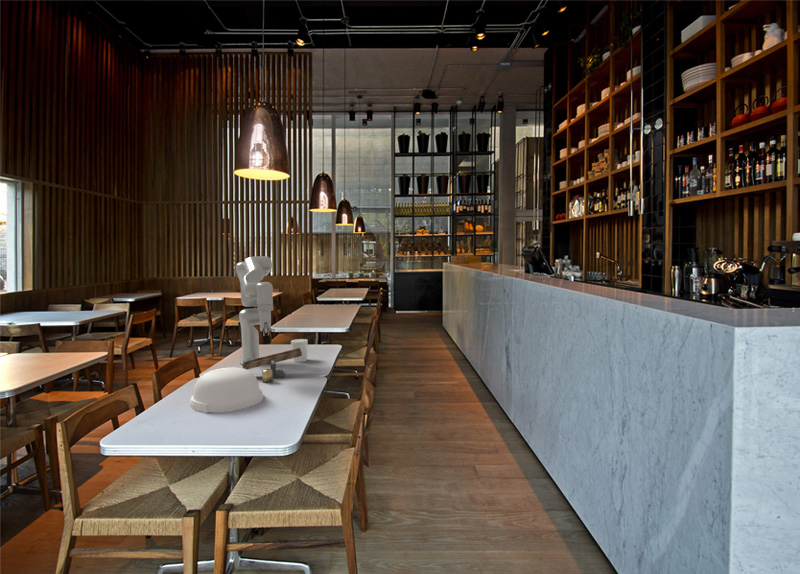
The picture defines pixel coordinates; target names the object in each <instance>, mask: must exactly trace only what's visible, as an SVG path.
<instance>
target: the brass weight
mask: <svg viewBox="0 0 800 574" xmlns="http://www.w3.org/2000/svg"><path fill="white" fill-rule="evenodd" d="M261 377H262V383H263V384H270V383H273V382H274V379H273V371H272V369H271V368H264V369H262V370H261Z"/></svg>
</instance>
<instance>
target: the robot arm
mask: <svg viewBox="0 0 800 574" xmlns="http://www.w3.org/2000/svg"><path fill="white" fill-rule="evenodd" d="M272 269H273V262H272V260H271V257H270V256H266V255H265V256H249V257H247V258H245V260H244V261H241V262H238V263H236V265H235V272H236V275H237V278H238V280H239V283H240V300H241V302H240V303H241V305H242V306H243V307H250V308H244V309H242V310H241V311H240V312H239V313H238V318H239V324H240V331H241V332H240V333H241V350H242V353H241V355H240V357H241V359H240V360H239V363H240V364H241V365H243V360H245V359H249V358H253V359H257V358H260V340H259V339H260V337H259V336H260V335H259V331H260V332H262V333H263V334H262V344H263V345H269V344H271V335H270V334H271V333H270V331H271V330H272V329H271V327H272V311H274V301H273V300H274V299H273V292H274V288H273V285H272V283H271V282H269V281H262V280H263V279H264V278H265V277H266V276H267V275H269V273H270V272H271V271H272ZM251 307H256V308H251ZM256 325H259V331H258V328H256V327H255V326H256Z"/></svg>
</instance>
